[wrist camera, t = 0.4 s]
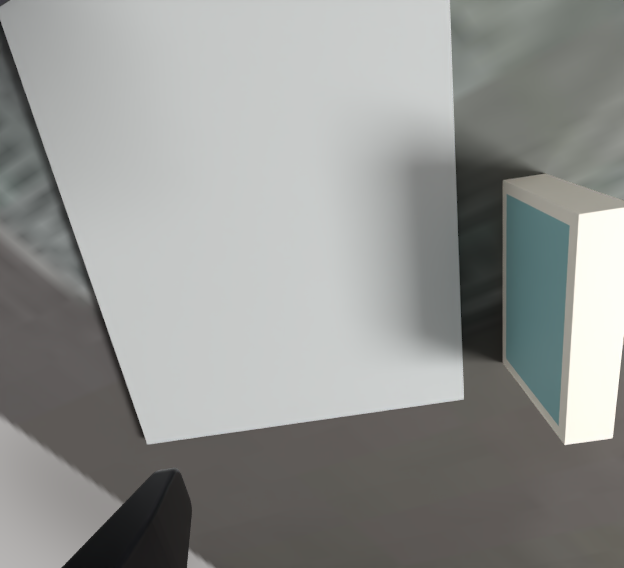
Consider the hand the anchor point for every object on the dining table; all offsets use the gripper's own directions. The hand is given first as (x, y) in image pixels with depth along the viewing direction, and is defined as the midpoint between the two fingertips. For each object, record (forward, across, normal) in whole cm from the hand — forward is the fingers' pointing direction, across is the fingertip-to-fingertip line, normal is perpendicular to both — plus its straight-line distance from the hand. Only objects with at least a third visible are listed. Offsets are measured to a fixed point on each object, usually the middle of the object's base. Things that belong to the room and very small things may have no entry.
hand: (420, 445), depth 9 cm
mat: (+13, +3, -1) cm, 14 cm away
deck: (+13, -8, +3) cm, 16 cm away
